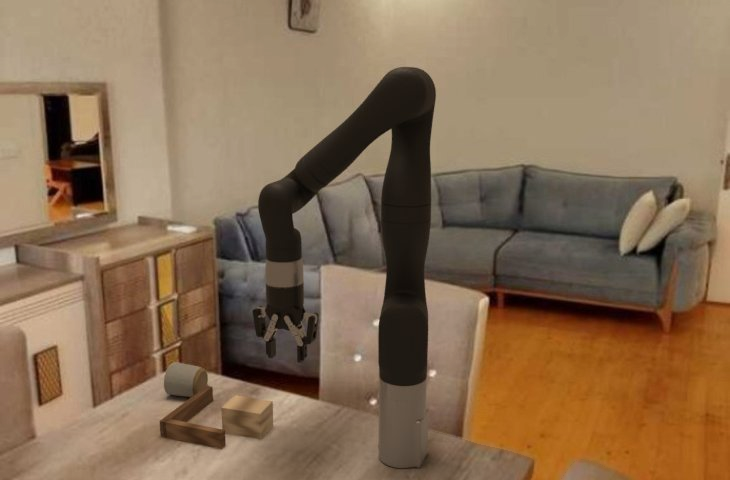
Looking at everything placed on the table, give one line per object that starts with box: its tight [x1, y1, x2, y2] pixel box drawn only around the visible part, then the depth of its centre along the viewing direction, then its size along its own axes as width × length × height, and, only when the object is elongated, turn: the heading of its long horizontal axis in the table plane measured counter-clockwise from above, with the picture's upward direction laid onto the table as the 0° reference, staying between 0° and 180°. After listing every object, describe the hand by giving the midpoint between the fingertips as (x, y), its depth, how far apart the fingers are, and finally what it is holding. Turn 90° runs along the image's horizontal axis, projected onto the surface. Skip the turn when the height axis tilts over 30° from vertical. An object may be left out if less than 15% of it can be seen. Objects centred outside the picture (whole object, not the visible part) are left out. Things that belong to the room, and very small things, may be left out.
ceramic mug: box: [163, 361, 209, 398], centre depth 165 cm, size 11×8×8 cm
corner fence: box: [159, 385, 227, 450], centre depth 151 cm, size 15×18×4 cm
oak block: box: [220, 394, 274, 440], centre depth 148 cm, size 9×6×6 cm, turn 72°
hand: (286, 358), depth 142 cm, fingers open, 6 cm apart
